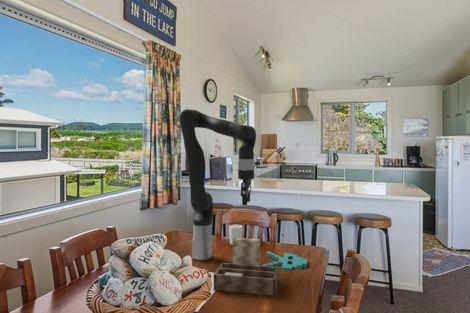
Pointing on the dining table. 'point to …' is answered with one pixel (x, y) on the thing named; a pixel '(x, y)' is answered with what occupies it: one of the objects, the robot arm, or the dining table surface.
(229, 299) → the dining table surface
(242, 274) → the sage offcut
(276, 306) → the dining table surface
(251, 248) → the birch panel
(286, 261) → the alien figure
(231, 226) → the white cup
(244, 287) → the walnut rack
